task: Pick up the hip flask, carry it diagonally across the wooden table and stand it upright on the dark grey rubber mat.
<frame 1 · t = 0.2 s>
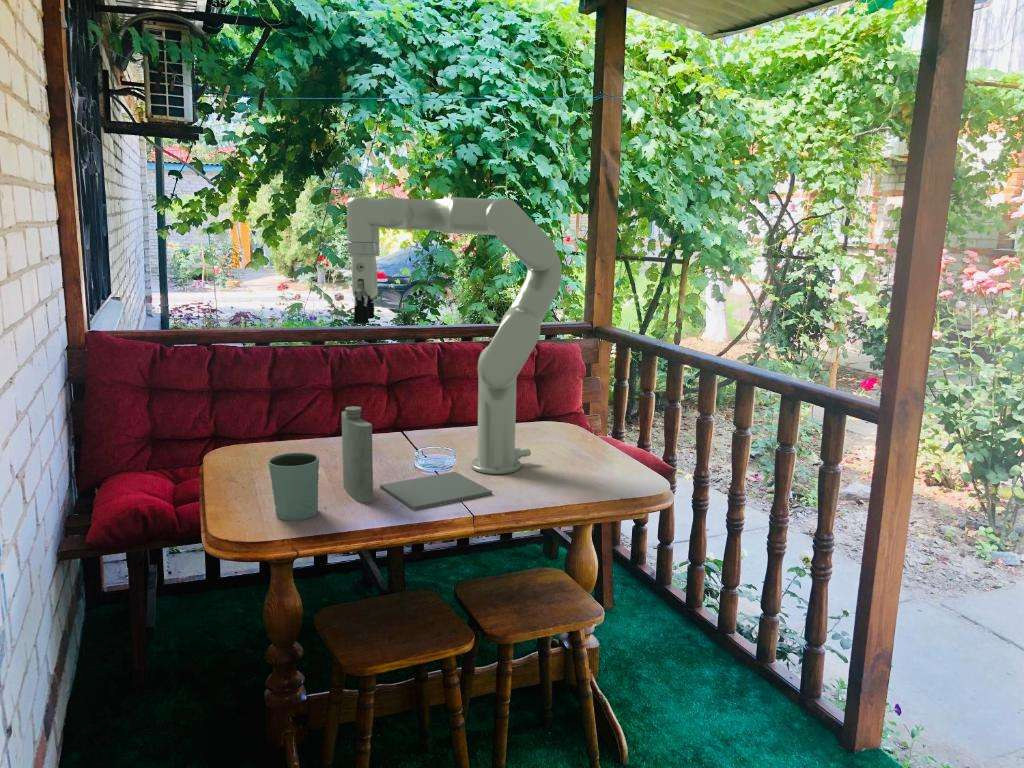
hand: (364, 320, 193), 37 cm above the table, tool pointing down, fingers open, 9 cm apart
hip flask: (355, 493, 180), on the table
rubber mat: (435, 491, 182), on the table
green cup: (295, 514, 166), on the table
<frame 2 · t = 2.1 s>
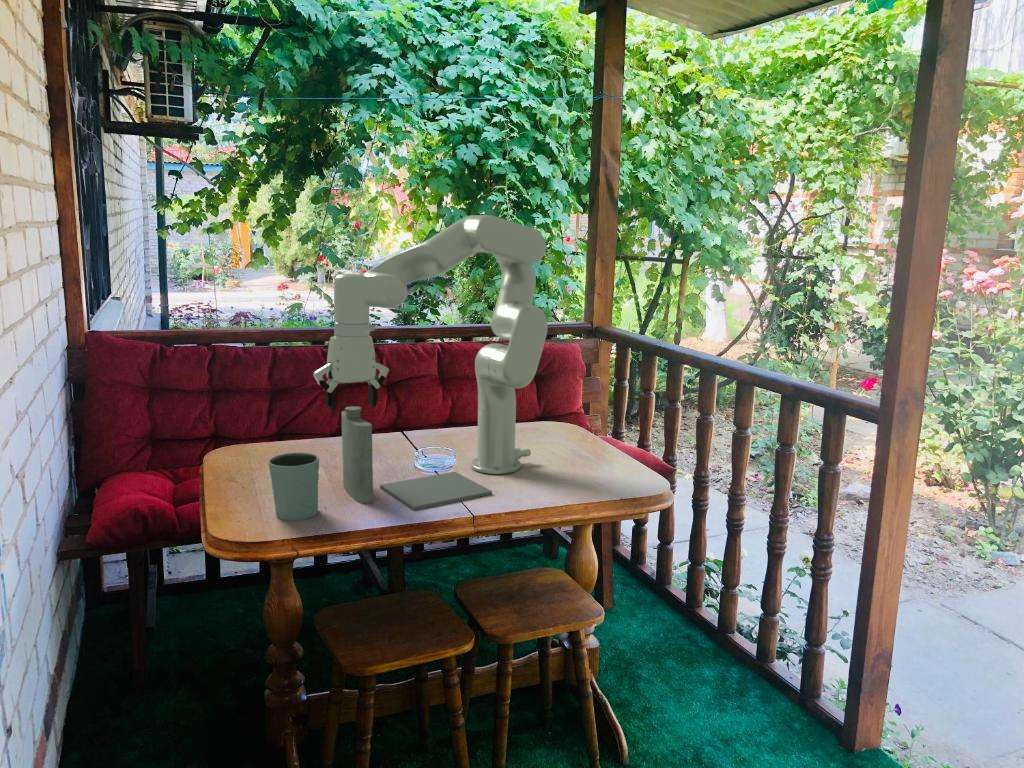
hand: (351, 407, 175), 20 cm above the table, tool pointing down, fingers open, 9 cm apart
nothing on the table moved.
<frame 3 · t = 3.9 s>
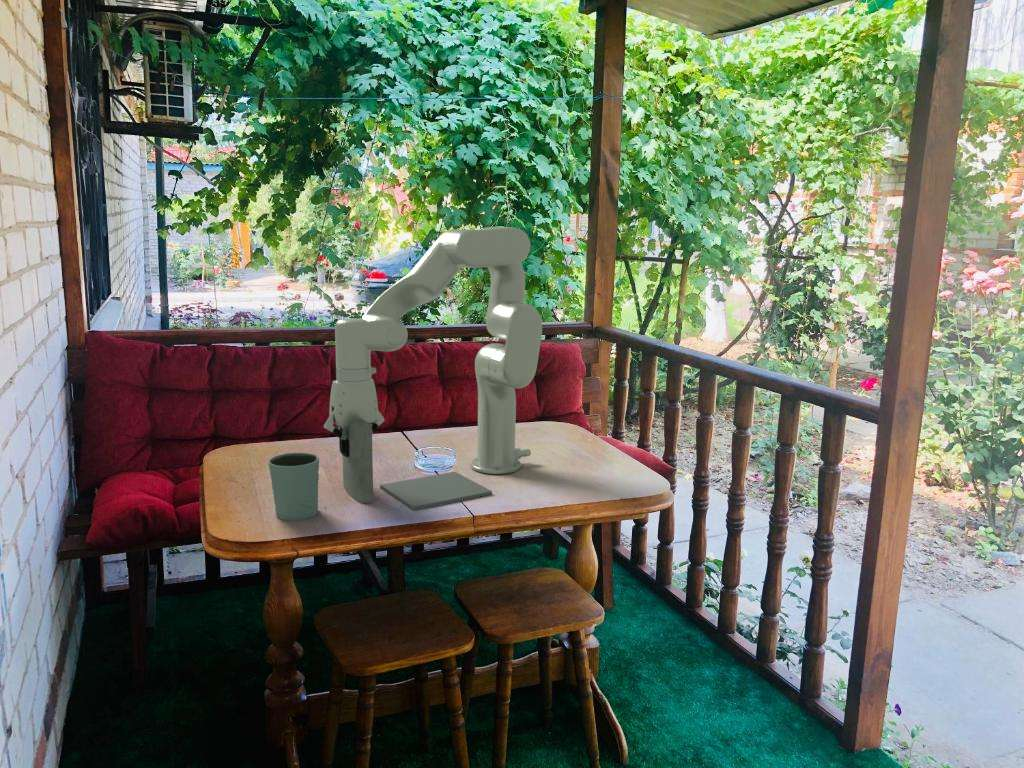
hand: (355, 453, 178), 9 cm above the table, tool pointing down, fingers closed on hip flask, 4 cm apart
hip flask: (356, 493, 180), on the table, touching gripper
everything else where it was.
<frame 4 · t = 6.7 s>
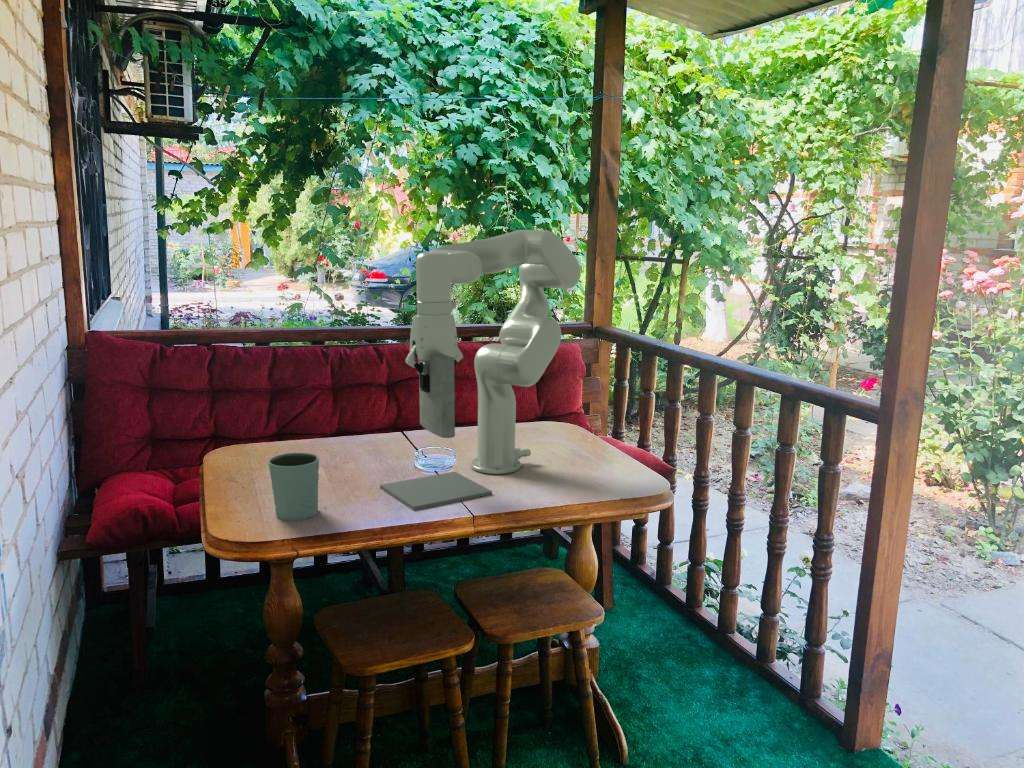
hand: (434, 389, 177), 24 cm above the table, tool pointing down, fingers closed on hip flask, 4 cm apart
hip flask: (435, 430, 179), point 14 cm above the table, touching gripper
everything else where it was.
when the fingers open (11 cm above the table, at t = 9.5 s): hip flask drops 1 cm, resting on rubber mat.
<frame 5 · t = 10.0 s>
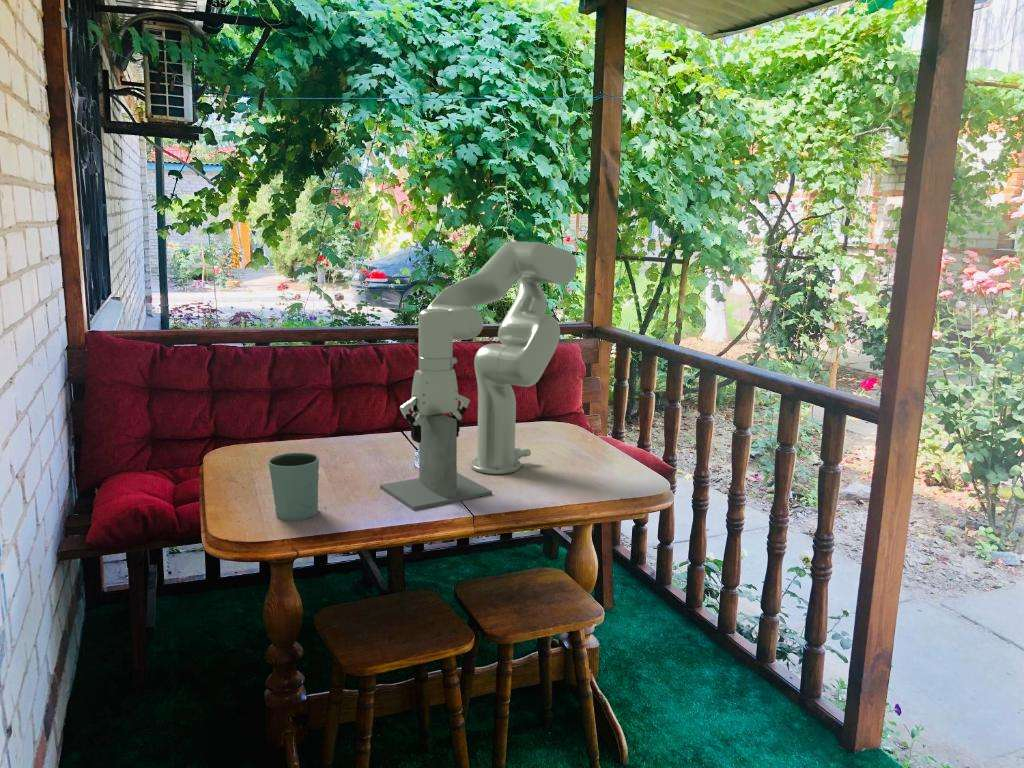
hand: (435, 438, 179), 13 cm above the table, tool pointing down, fingers open, 9 cm apart
hip flask: (435, 488, 181), point 1 cm above the table, touching rubber mat
everything else where it was.
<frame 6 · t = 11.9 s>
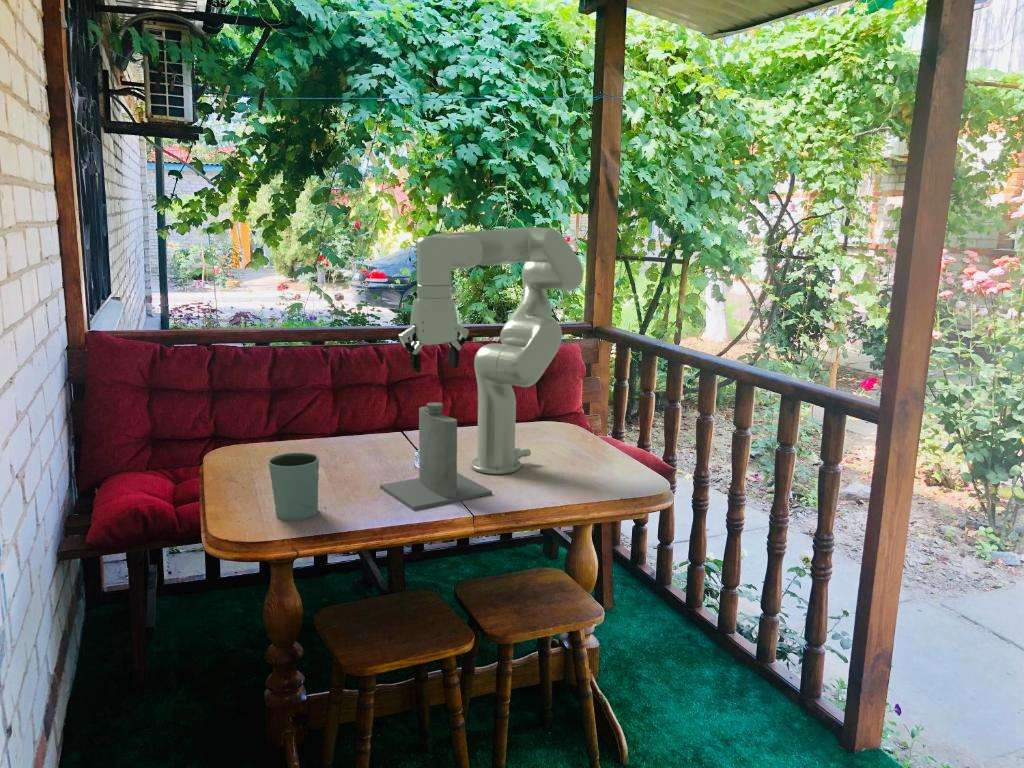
hand: (434, 369, 177), 28 cm above the table, tool pointing down, fingers open, 9 cm apart
nothing on the table moved.
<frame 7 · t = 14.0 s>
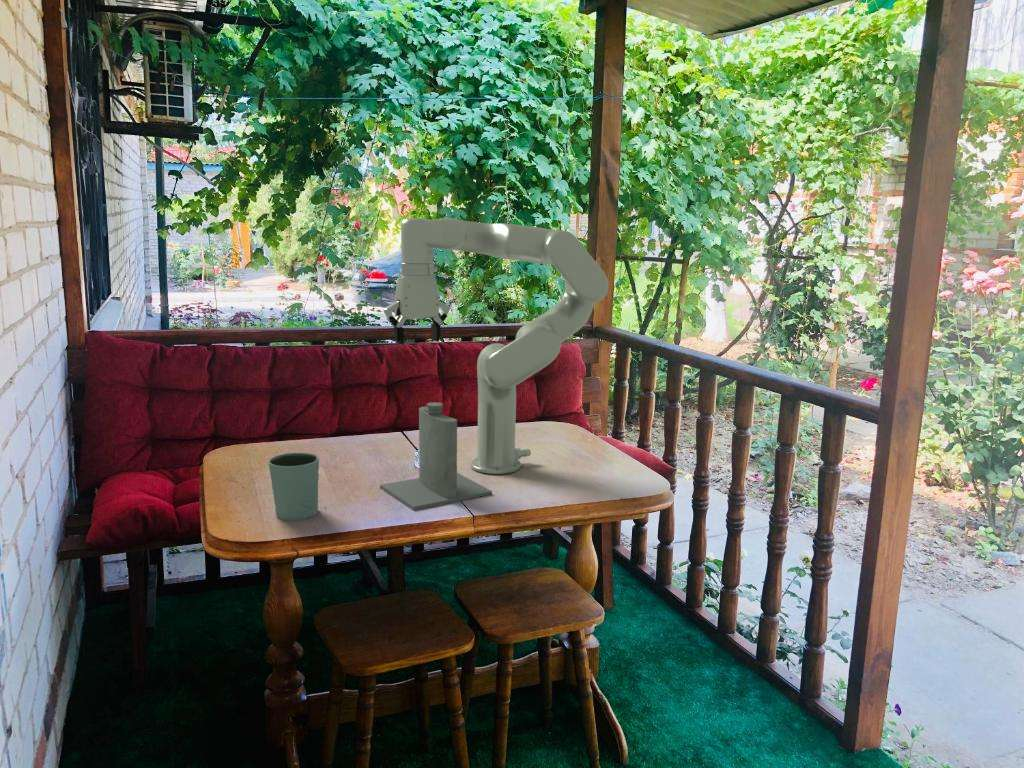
hand: (417, 342, 191), 32 cm above the table, tool pointing down, fingers open, 9 cm apart
nothing on the table moved.
at the end: hip flask inside the target area on the rubber mat (0.0 cm from its centre), point 0.6 cm above the rubber mat's base; hip flask tilted 0°; the gripper is holding nothing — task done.
